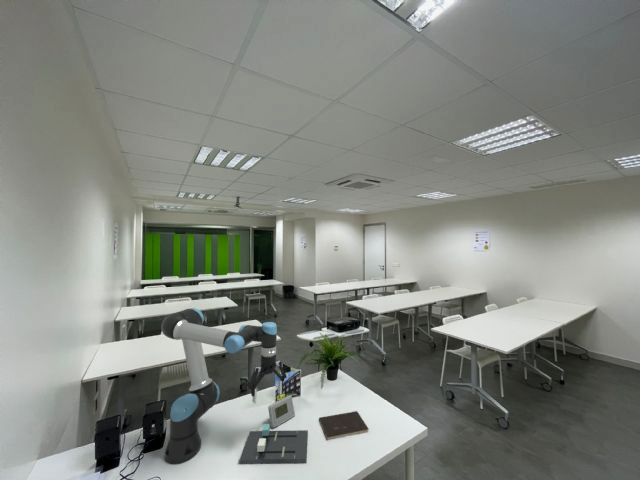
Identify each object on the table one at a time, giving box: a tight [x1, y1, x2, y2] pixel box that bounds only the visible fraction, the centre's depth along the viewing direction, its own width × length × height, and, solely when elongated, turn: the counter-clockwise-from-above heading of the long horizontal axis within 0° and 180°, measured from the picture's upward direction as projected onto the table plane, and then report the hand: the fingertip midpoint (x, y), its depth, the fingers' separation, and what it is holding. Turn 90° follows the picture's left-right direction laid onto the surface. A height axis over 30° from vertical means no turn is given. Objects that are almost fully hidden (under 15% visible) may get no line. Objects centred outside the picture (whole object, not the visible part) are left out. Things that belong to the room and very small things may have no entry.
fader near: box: [257, 438, 266, 452], centre depth 116 cm, size 3×4×4 cm
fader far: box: [261, 423, 271, 436], centre depth 126 cm, size 3×4×4 cm
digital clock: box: [267, 394, 296, 429], centre depth 141 cm, size 16×9×11 cm, turn 123°
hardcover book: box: [318, 410, 370, 441], centre depth 136 cm, size 16×23×2 cm
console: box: [238, 429, 309, 465], centre depth 121 cm, size 30×18×2 cm, turn 91°
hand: (267, 397), depth 125 cm, fingers open, 13 cm apart
